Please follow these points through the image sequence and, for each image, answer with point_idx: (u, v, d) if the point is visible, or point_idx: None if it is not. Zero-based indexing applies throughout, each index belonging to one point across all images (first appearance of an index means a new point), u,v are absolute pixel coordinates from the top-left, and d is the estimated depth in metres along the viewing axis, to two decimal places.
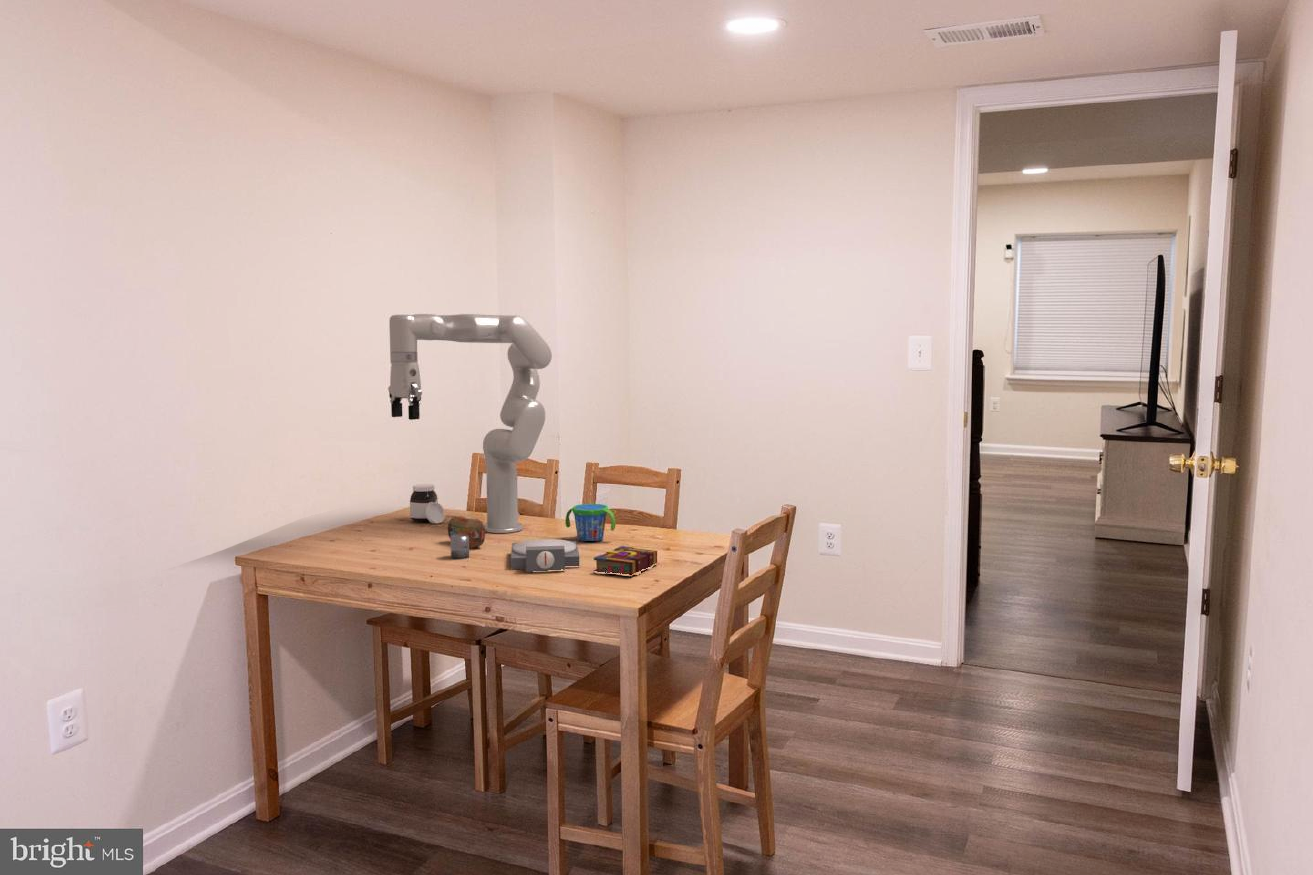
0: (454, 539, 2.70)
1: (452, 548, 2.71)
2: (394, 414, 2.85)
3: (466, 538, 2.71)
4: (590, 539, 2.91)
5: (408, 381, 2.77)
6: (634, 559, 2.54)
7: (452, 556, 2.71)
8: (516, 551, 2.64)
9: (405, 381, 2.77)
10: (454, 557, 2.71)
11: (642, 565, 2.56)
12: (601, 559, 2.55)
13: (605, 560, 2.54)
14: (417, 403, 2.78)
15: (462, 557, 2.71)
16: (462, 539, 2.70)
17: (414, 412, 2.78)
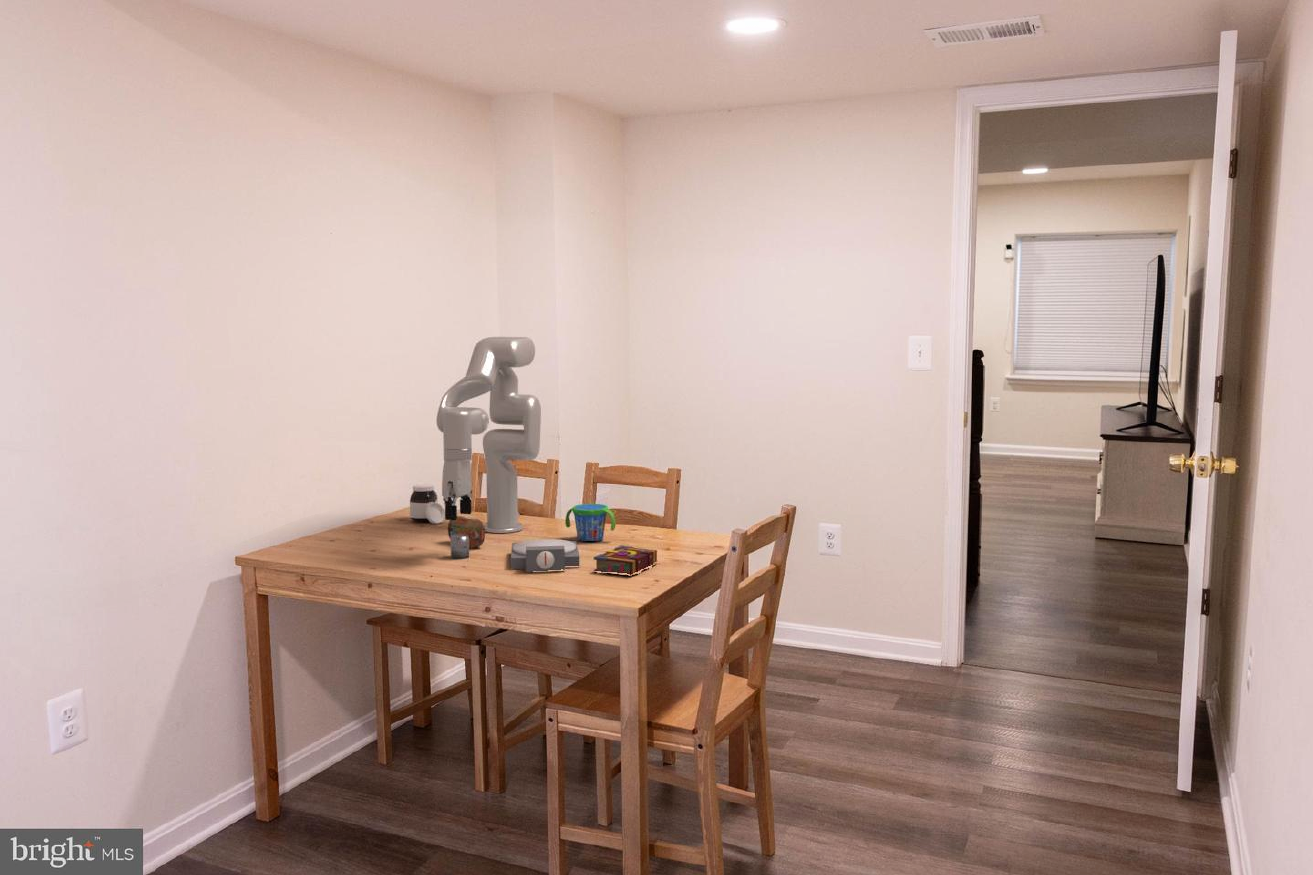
0: (454, 539, 2.70)
1: (452, 548, 2.71)
2: None
3: (466, 538, 2.71)
4: (590, 539, 2.91)
5: None
6: (634, 558, 2.54)
7: (452, 556, 2.71)
8: (516, 551, 2.64)
9: (471, 476, 2.74)
10: (454, 557, 2.71)
11: (642, 564, 2.57)
12: (601, 558, 2.55)
13: (605, 559, 2.55)
14: None
15: (462, 557, 2.71)
16: (462, 539, 2.70)
17: None
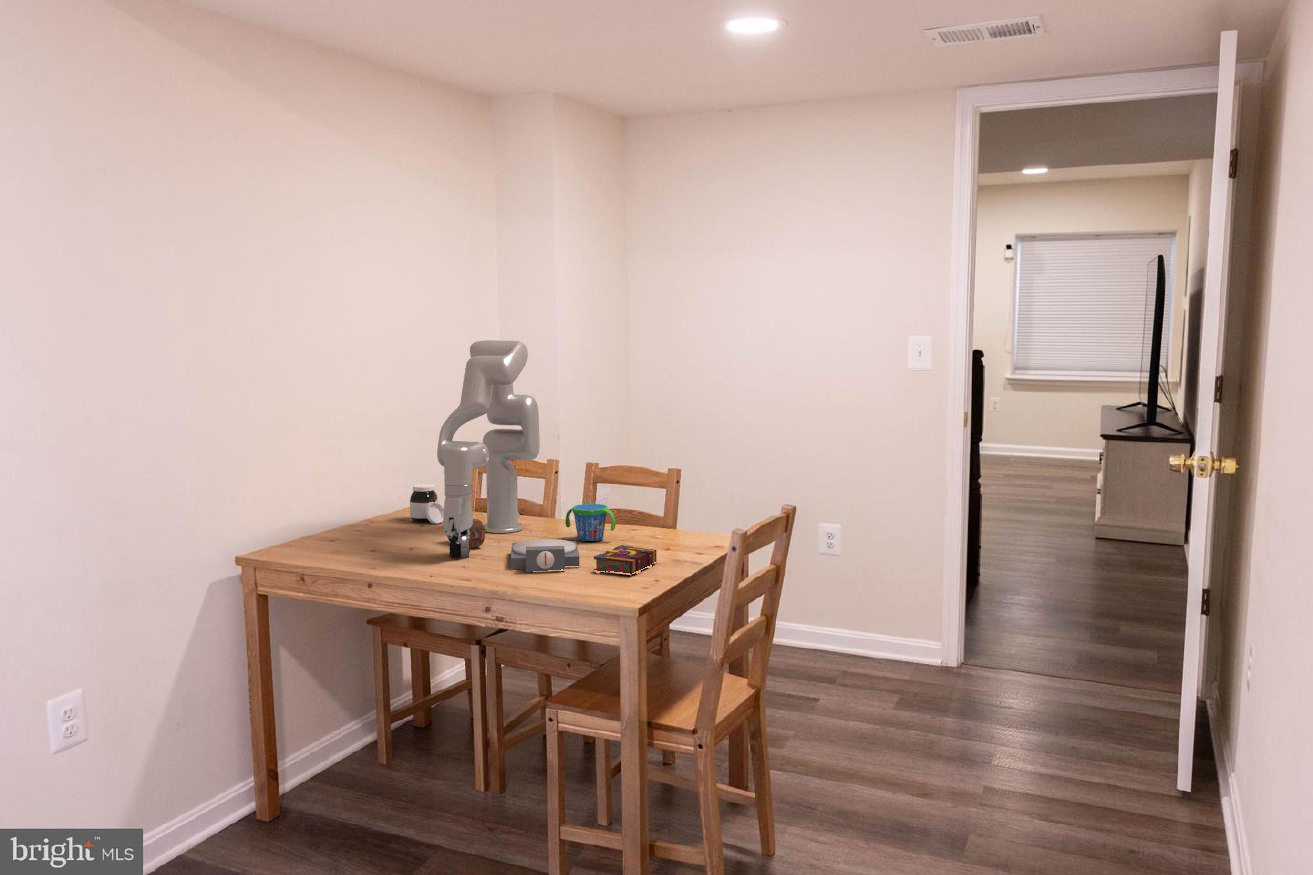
0: None
1: None
2: None
3: (466, 538, 2.71)
4: (590, 539, 2.91)
5: None
6: (634, 558, 2.55)
7: None
8: (516, 551, 2.64)
9: (472, 510, 2.75)
10: None
11: (642, 564, 2.58)
12: (601, 558, 2.56)
13: (605, 559, 2.55)
14: None
15: (462, 557, 2.71)
16: (462, 539, 2.70)
17: None
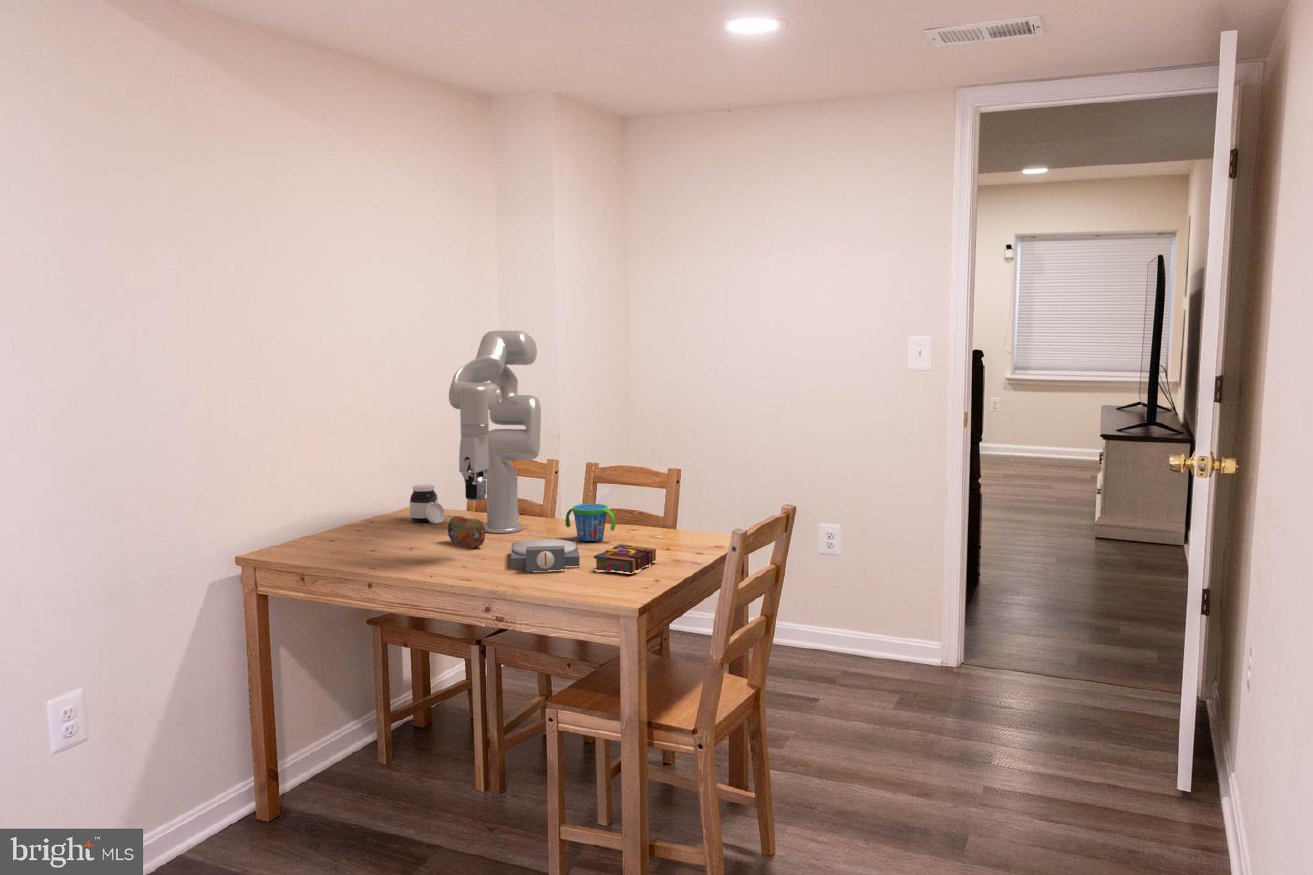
0: None
1: None
2: None
3: (482, 479, 2.68)
4: (590, 539, 2.91)
5: None
6: (634, 557, 2.56)
7: None
8: (516, 551, 2.64)
9: (488, 451, 2.72)
10: None
11: (642, 563, 2.59)
12: (601, 557, 2.56)
13: (605, 558, 2.56)
14: None
15: (478, 498, 2.68)
16: (478, 480, 2.68)
17: None
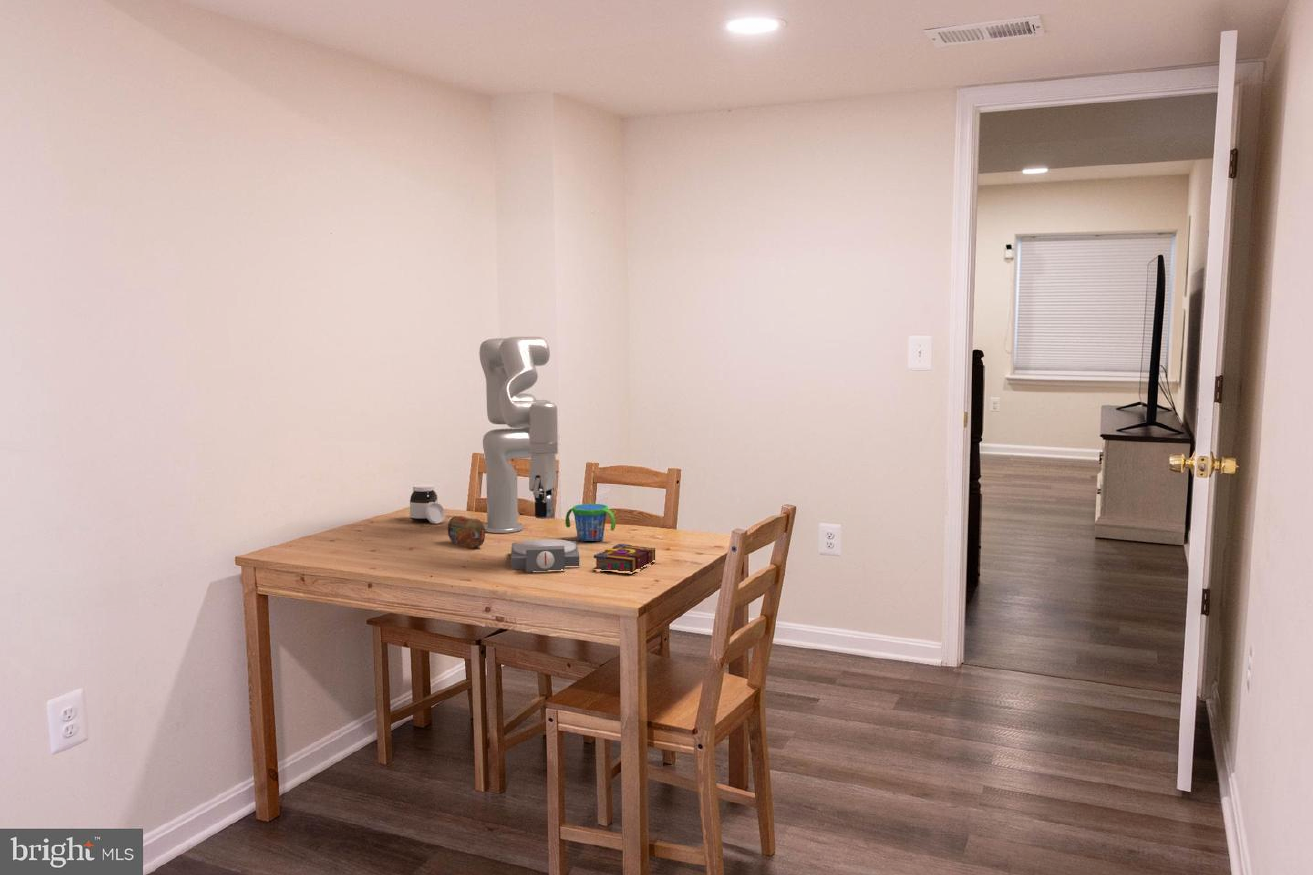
0: None
1: None
2: None
3: (551, 497, 2.66)
4: (590, 539, 2.91)
5: None
6: (634, 556, 2.56)
7: None
8: (516, 551, 2.64)
9: None
10: None
11: (641, 562, 2.59)
12: (601, 557, 2.57)
13: (605, 558, 2.57)
14: None
15: (547, 516, 2.66)
16: (547, 498, 2.65)
17: None
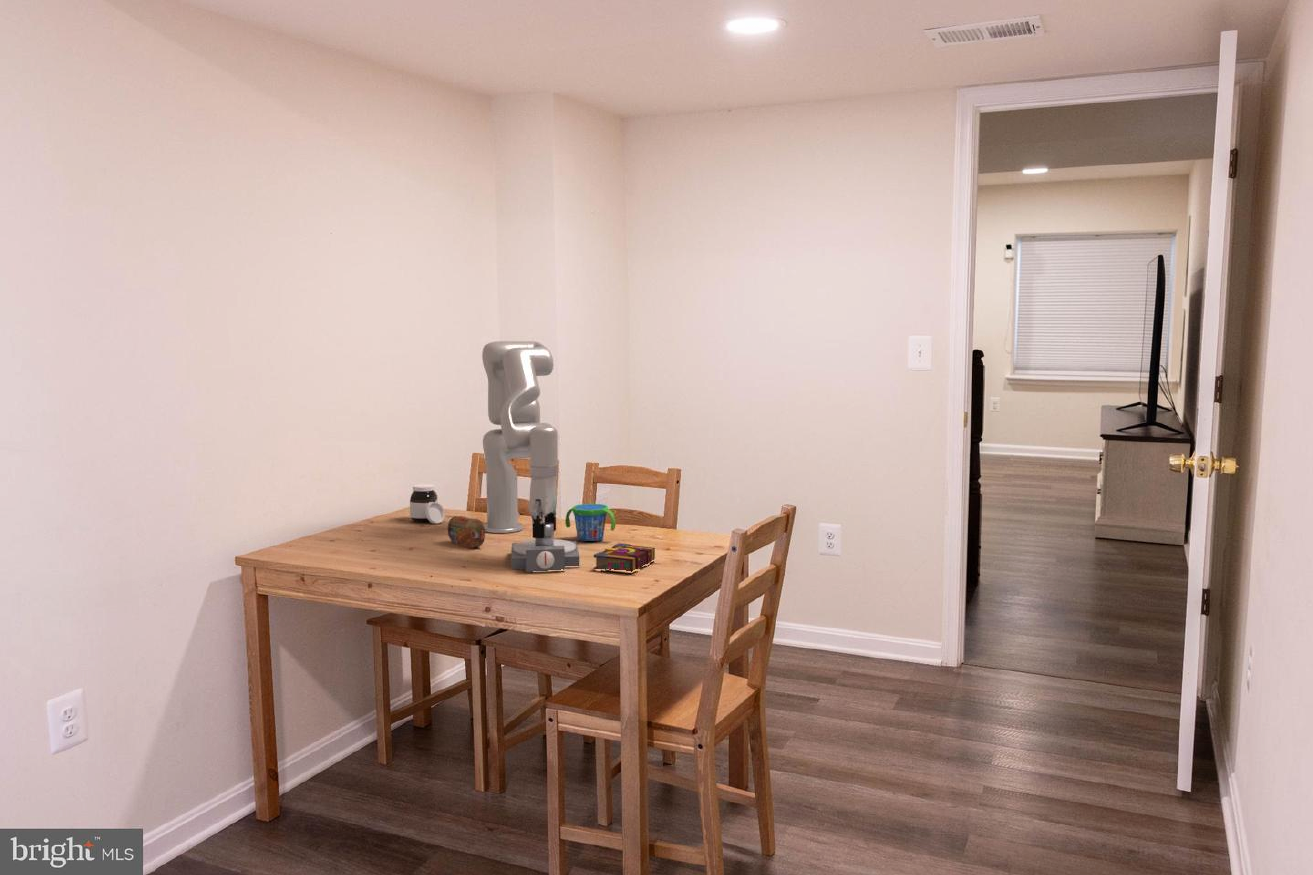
0: None
1: None
2: None
3: (551, 526, 2.67)
4: (590, 539, 2.91)
5: None
6: (634, 556, 2.57)
7: (537, 544, 2.68)
8: (516, 551, 2.64)
9: (556, 492, 2.71)
10: (539, 545, 2.67)
11: (641, 562, 2.60)
12: (601, 556, 2.57)
13: (605, 557, 2.57)
14: None
15: (547, 545, 2.67)
16: (547, 527, 2.67)
17: None
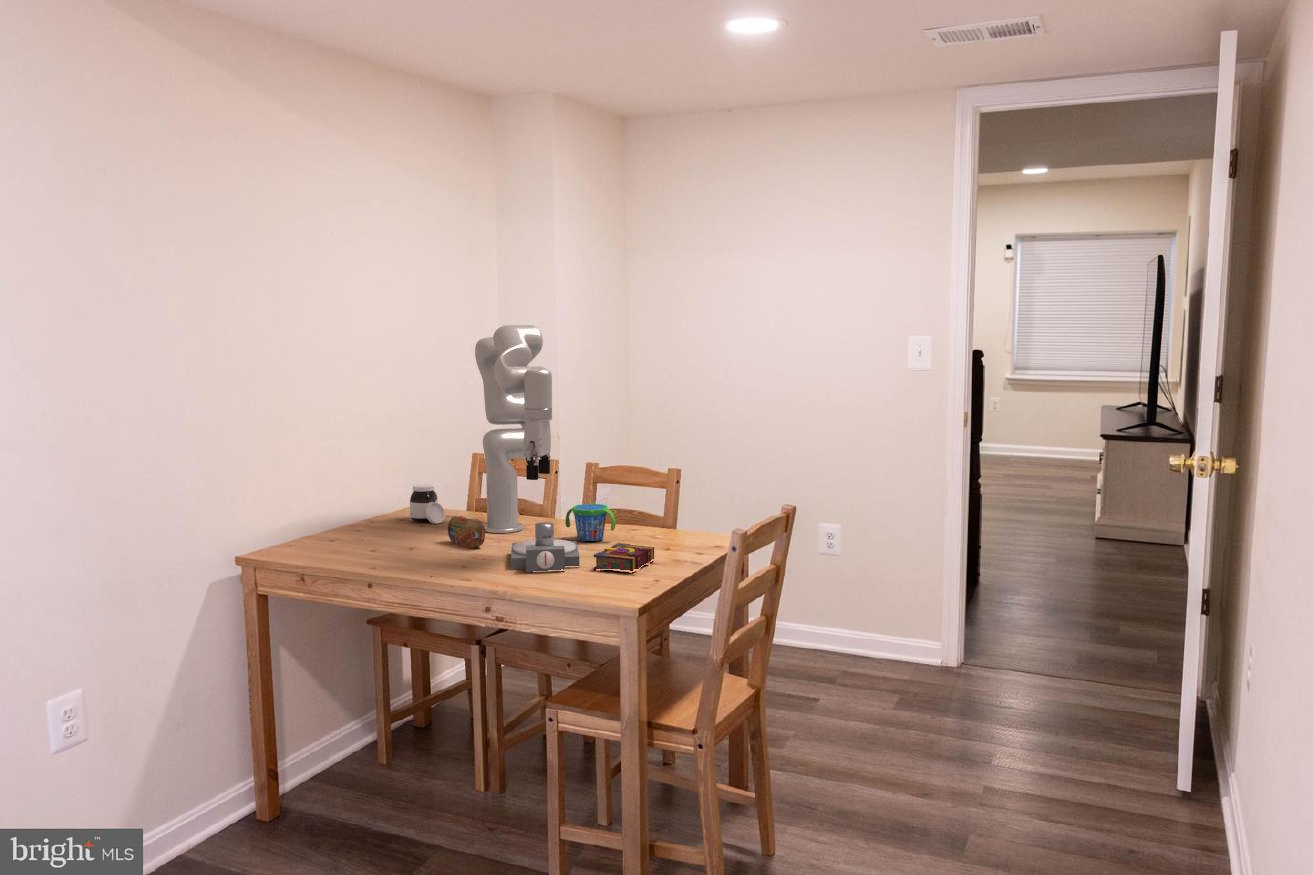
0: (539, 527, 2.66)
1: (537, 536, 2.67)
2: None
3: (551, 526, 2.67)
4: (590, 539, 2.91)
5: None
6: (634, 555, 2.58)
7: (537, 544, 2.68)
8: (516, 551, 2.64)
9: (550, 435, 2.72)
10: (539, 545, 2.67)
11: (641, 561, 2.61)
12: (601, 556, 2.58)
13: (605, 557, 2.57)
14: None
15: (547, 545, 2.67)
16: (547, 527, 2.67)
17: None
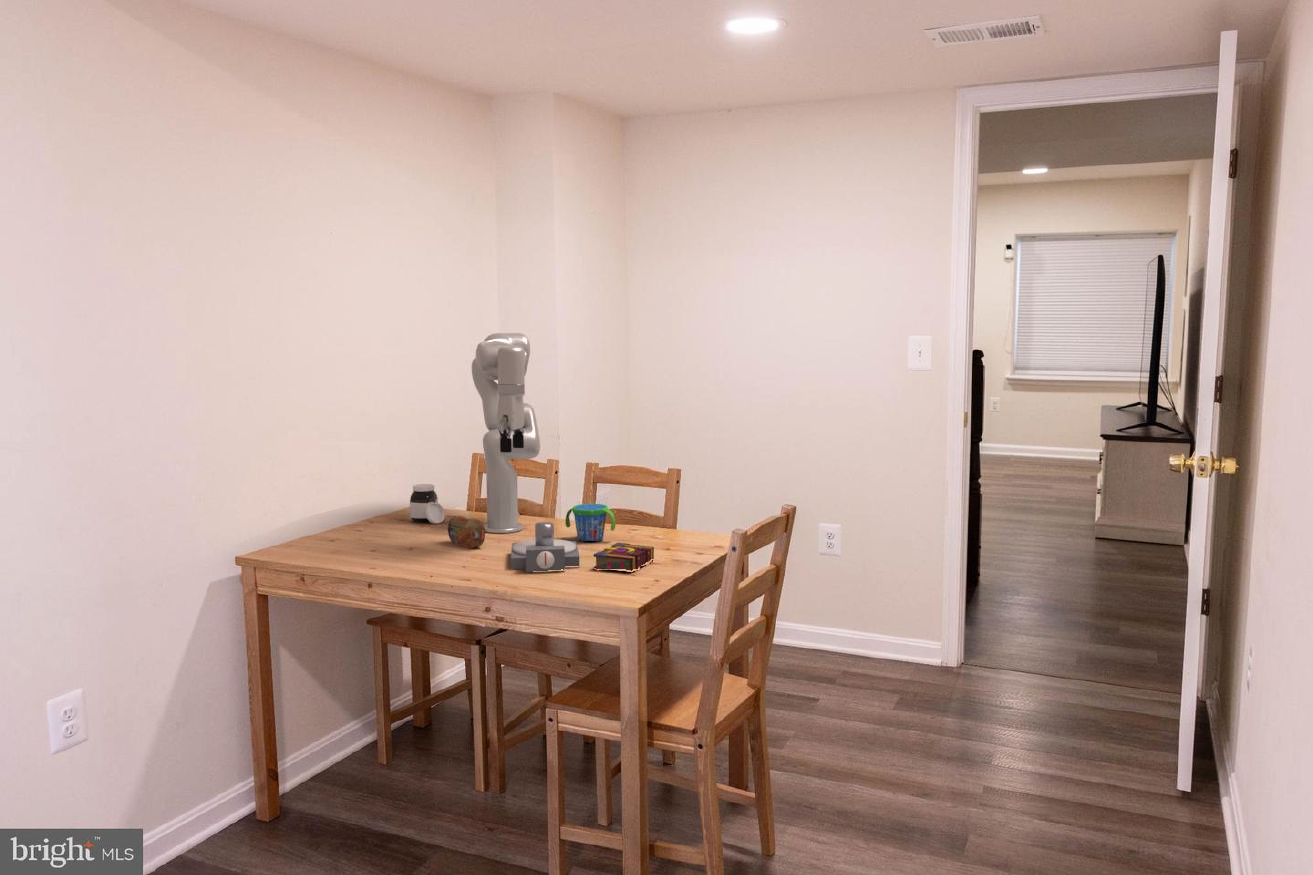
0: (539, 527, 2.66)
1: (537, 536, 2.67)
2: None
3: (551, 526, 2.67)
4: (590, 539, 2.91)
5: None
6: (634, 555, 2.58)
7: (537, 544, 2.68)
8: (516, 551, 2.64)
9: (523, 411, 2.84)
10: (539, 545, 2.67)
11: (641, 561, 2.61)
12: (601, 555, 2.58)
13: (605, 556, 2.58)
14: None
15: (547, 545, 2.67)
16: (547, 527, 2.67)
17: None
